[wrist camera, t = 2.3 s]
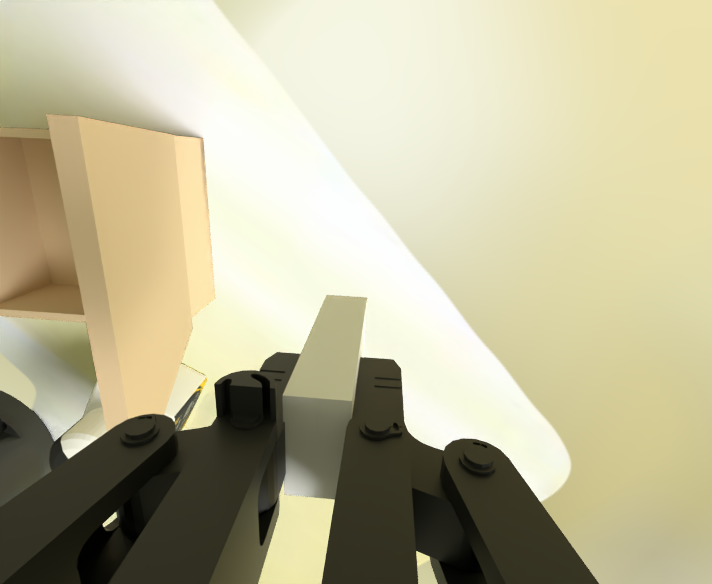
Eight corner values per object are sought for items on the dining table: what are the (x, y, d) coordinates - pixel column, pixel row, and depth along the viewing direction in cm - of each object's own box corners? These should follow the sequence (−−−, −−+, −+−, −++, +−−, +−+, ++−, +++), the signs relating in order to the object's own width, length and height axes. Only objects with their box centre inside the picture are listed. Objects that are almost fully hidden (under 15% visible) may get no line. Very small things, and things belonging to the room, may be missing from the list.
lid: (118, 490, 16) (139, 487, 16) (46, 114, 12) (77, 116, 12) (181, 328, 31) (192, 328, 31) (160, 134, 26) (173, 134, 27)
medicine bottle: (184, 426, 43) (111, 524, 31) (122, 395, 42) (24, 484, 31) (209, 376, 40) (140, 461, 29) (144, 342, 40) (47, 417, 28)
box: (52, 287, 38) (-18, 314, 32) (18, 130, 34) (-72, 124, 27) (215, 298, 38) (178, 328, 31) (203, 138, 33) (156, 133, 26)
